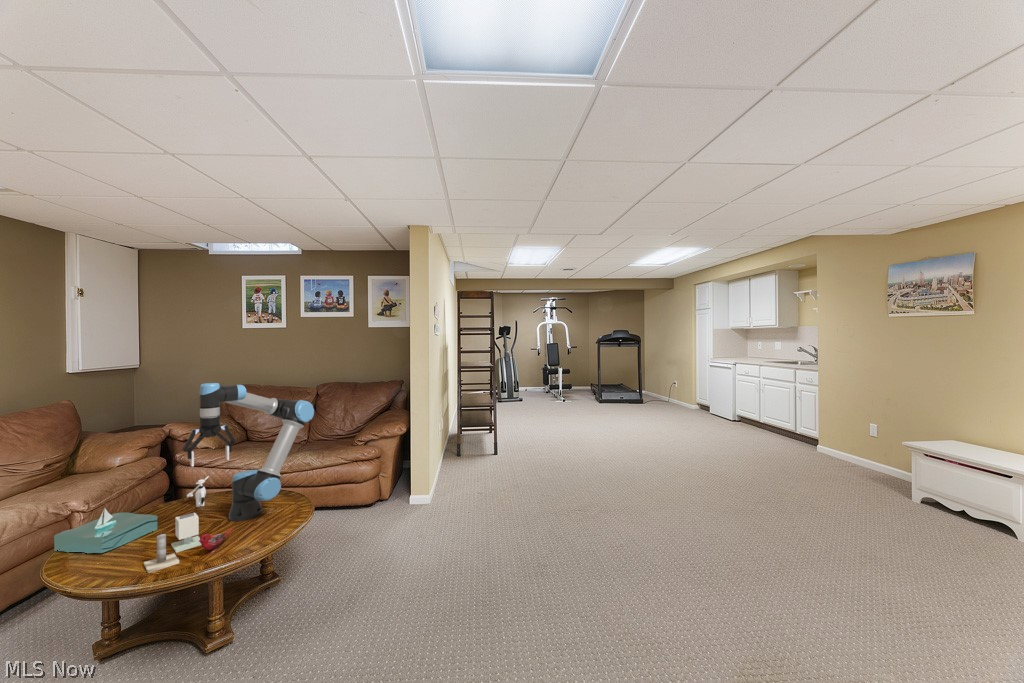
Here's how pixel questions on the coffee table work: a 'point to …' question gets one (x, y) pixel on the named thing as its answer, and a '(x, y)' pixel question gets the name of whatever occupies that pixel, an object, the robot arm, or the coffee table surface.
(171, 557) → the post
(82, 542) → the sailboat water diorama
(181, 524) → the white drawer box
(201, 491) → the cricket player figurine
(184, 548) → the post
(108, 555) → the coffee table surface
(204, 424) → the robot arm
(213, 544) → the decorative bird figurine
